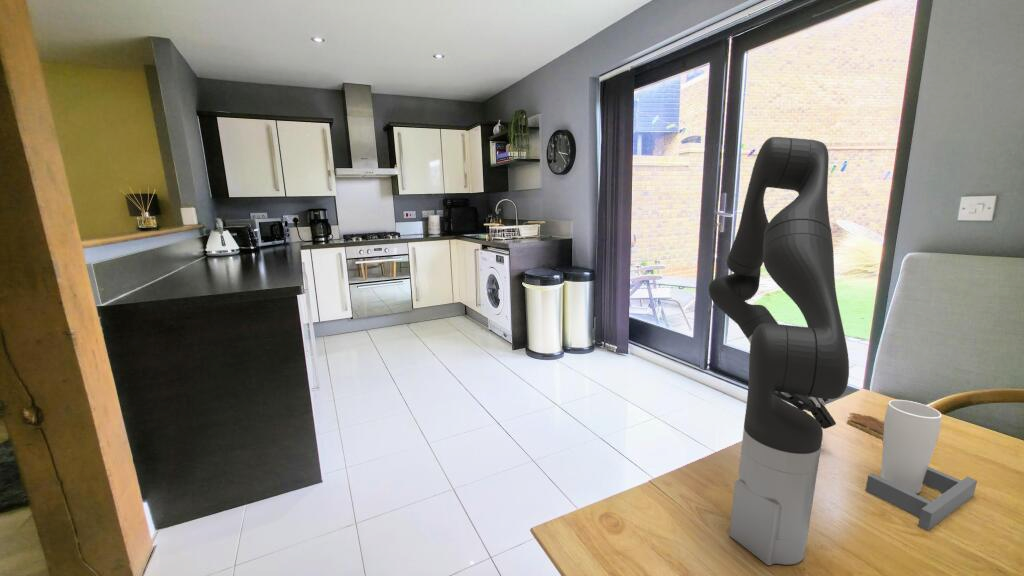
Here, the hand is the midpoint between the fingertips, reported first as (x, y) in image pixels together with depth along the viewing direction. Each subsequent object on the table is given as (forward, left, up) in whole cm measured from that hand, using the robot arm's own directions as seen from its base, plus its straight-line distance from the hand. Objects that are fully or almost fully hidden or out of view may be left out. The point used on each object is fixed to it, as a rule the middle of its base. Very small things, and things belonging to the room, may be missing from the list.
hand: (830, 426), depth 81 cm
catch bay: (0, -14, -6) cm, 15 cm away
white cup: (0, -11, -6) cm, 13 cm away
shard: (+20, 0, -7) cm, 21 cm away
